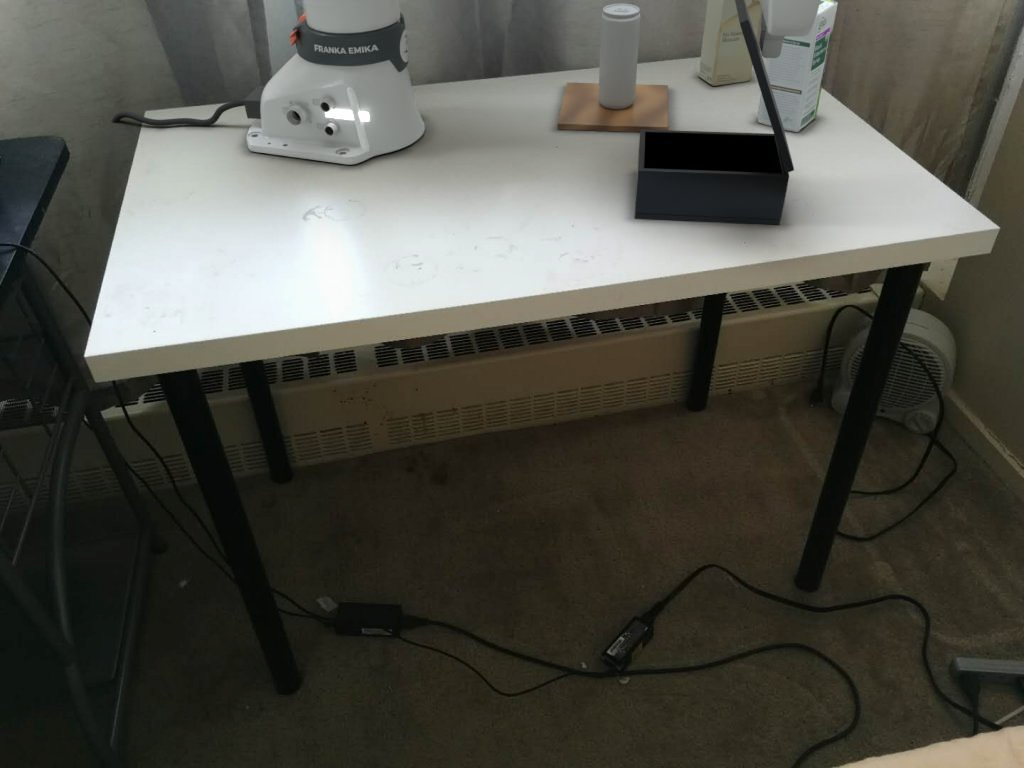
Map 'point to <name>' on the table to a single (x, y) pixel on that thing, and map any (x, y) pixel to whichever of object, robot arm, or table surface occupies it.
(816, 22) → the syrup box
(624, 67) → the beverage can
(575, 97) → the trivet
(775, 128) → the lid
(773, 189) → the black open box
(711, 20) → the cosmetic box
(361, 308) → the table surface
